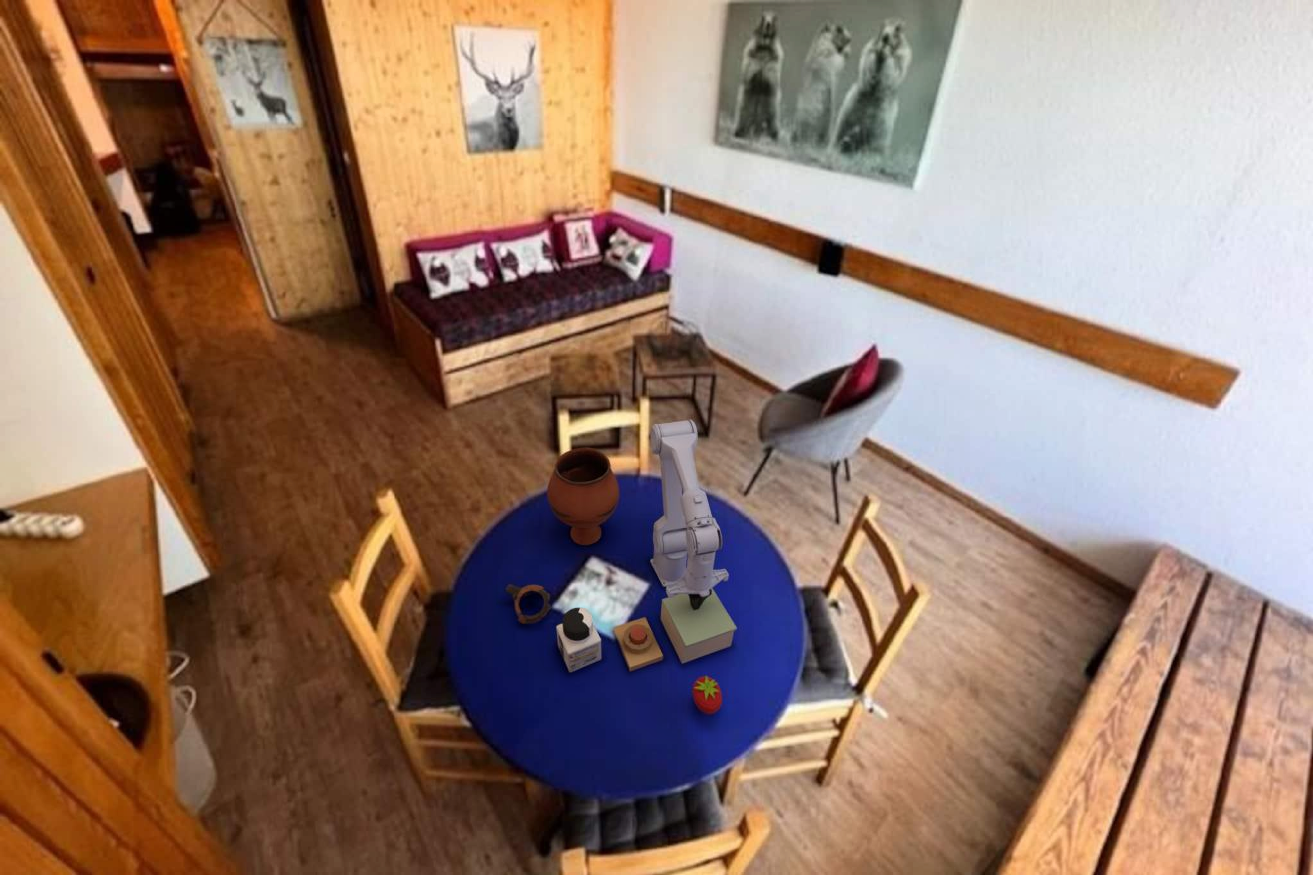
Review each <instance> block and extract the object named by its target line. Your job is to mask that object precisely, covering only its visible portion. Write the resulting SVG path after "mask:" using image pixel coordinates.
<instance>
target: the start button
mask: <svg viewBox="0 0 1313 875" xmlns="http://www.w3.org/2000/svg"><path fill="white" fill-rule="evenodd" d="M645 639H646V631H645V629H644V628H643V627H640V626H636V627H634V628H632V629H631V631H630V640H631V641H632V642H633V643H634V644H642V643H643V642H644V641H645Z"/></svg>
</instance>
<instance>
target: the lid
mask: <svg viewBox="0 0 1313 875" xmlns="http://www.w3.org/2000/svg"><path fill="white" fill-rule="evenodd" d="M711 590H712V594H711V595H710V596H709V597H707V598H706V599H705V600H704V602H703V603H702V605H701V606H700V608H699V609H697V610H693V608H692V606H691V604H690V599H689V595H688V594H675V595H674V597H673V598H671V599H669V597H668V596H667V597H665V598H661V604H662V603H663V605H664V607H665V608H666V610H667V612H668V614H669V616H670V618H671V620H672V622H673V624H674V626H675V628H676V630H677V632H678V634H679V636H680V638H681V640H682V642H683V643H684V645H685V647H686V648H687V647H690V646H693V645H696V644H699V643H701V642H704V641H707V640H710V639H713V638H716V637H719V636H721V635H724V634H727V633H730V632H733V631H734V632H735V631H737V629H738V627H737V626H736V624H735V622H734V620H733V619H732V618H731V616H730V614H729V613H728V611H727V609H726V608H725V606H724V605H723V602H722V601H721V600H720V598H719V596H718V595H717V593H716V591H715V590H714V587H712V588H711Z"/></svg>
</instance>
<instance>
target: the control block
mask: <svg viewBox="0 0 1313 875" xmlns="http://www.w3.org/2000/svg"><path fill="white" fill-rule="evenodd" d="M636 626H640V627H643V628H644V629H645V631H646V639H645V641H644V642H643V643H642V644H634V643H633V642H632V641H631V640H630V631H631V629H632V628H634V627H636ZM613 633H614V636H615V639H616V641H617V643H618V646H619V648H620V650H621V654H622V656H623V658H624V661H625V664H626V666H627V669H628V671H629V672H632V671H636V670H638V669H641V668H645V667H646V666H649V665H652V664H655V663H658V662H661V661H663V660H664V654H663V653H662V650H661V649H660V646H659V644H658V641H657V639H656V638H655V635H654V633H653V631H652V629H651V627H650V624H649V623H648V620H647V617H646V616H644V617H641V618H637V619H635V620H632V621H628V622H625V623H622V624H619V625H616V626H613Z"/></svg>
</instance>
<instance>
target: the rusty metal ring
mask: <svg viewBox="0 0 1313 875" xmlns="http://www.w3.org/2000/svg"><path fill="white" fill-rule="evenodd" d="M544 589H545V587H544V586H542V585H539V584H528V585H525V586H523V587H520V586H517V585H513V584H512V583H511V584H508V585H507V586H506V588H505V592H506V593H507V594H509V595H510V596H511V597H512V600H513V601H514V610H515V613H516V615H517V616H518V619H517V621H518V622H519V623H521V624H522V625H531V624H536V623H537V622H540V621H542V619H543V618H545V617H546V616H547V614H548V612H549V611H550V610H551V609H552V606H551V605H550V604H549V601H550V598H551V594H550V593H549V592H547V591H546V590H544ZM533 593H537V594H539V595H540V596H541V597H542V599H543V606H542V608H541V610H540V611H539V612H537V613H535V614H534V615H528V614H523V613H522V609H521V608H520V601H521V598H522V597H527V596H528V595H530V594H533Z"/></svg>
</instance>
